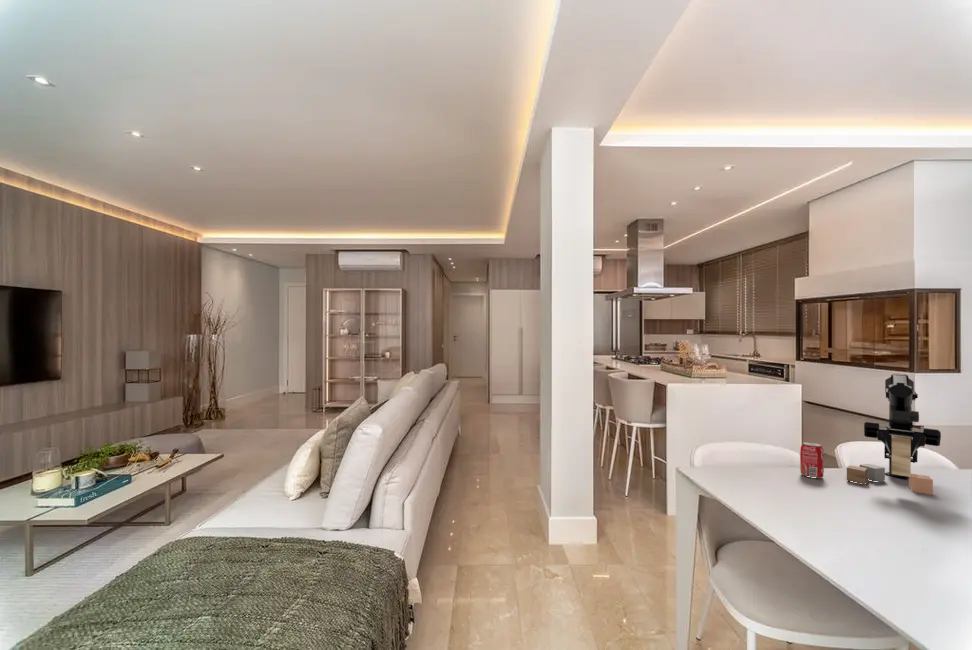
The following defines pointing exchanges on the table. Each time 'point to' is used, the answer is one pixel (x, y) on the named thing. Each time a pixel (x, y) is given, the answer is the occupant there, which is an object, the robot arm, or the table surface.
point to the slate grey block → (875, 472)
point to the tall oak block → (901, 455)
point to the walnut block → (857, 474)
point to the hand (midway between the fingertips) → (901, 454)
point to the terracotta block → (921, 484)
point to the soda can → (812, 459)
